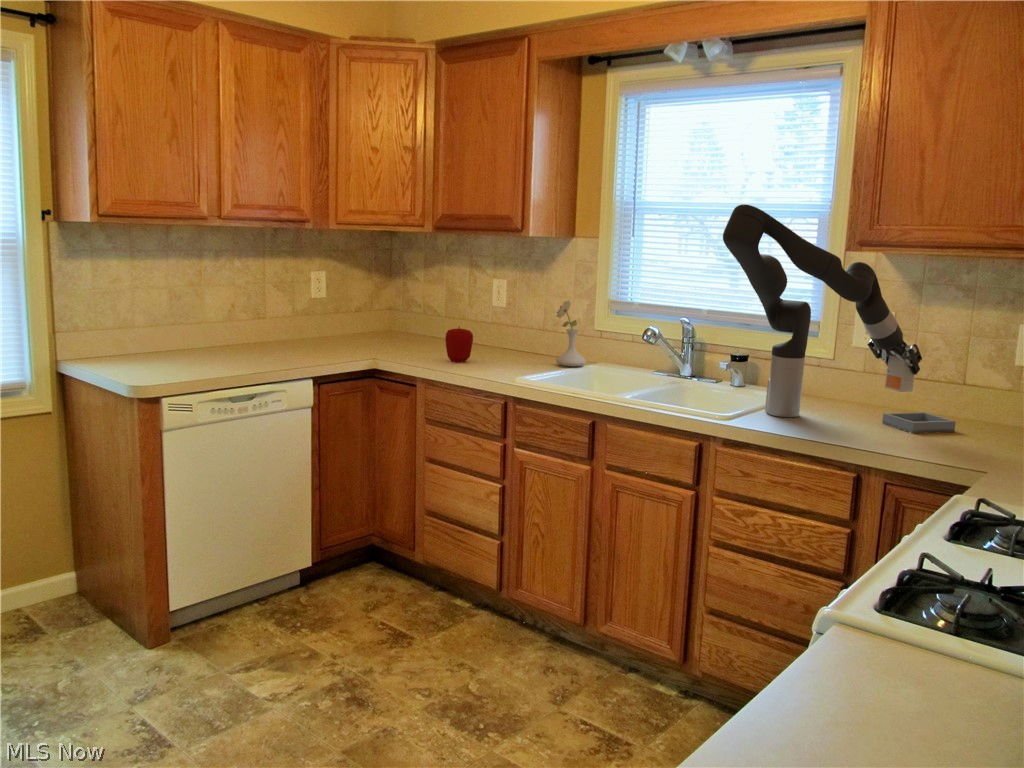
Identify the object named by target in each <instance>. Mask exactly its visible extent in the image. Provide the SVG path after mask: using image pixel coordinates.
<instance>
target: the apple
mask: <svg viewBox="0 0 1024 768" xmlns="http://www.w3.org/2000/svg"><path fill="white" fill-rule="evenodd" d="M473 341H474V334H473V333H472V331H471V330H469V329H466V328H461V327H460V326H458V328H451V329H448V330H447V331H446V333H445V350H446V354H447V357H448V359H449V360H450V361H451V362H452V363H455V364H457V363H459V364H460V363H464V362H466V361H467V360H468V359H469V358H470V357H471V352H472V348H473V343H474V342H473Z"/></svg>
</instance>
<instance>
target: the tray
mask: <svg viewBox="0 0 1024 768" xmlns="http://www.w3.org/2000/svg"><path fill="white" fill-rule="evenodd" d="M882 423H884V424H886V425H885V426H887V425H889V426H888V427H891V426H893V427H892V428H894V427H896V428H895V429H897V428H899V429H898V430H900V429H902V430H901V431H903V430H905V431H904V432H906V431H908V432H907V433H909V432H911V433H910V434H912V433H915V434H928V433H927V432H941V433H955V429H956V420H953V419H949V418H946V417H942V416H939V415H937V414H935V415H934V414H931V413H928V412H924V411H921V412H920V411H917V412H916V411H915V412H888V413H887V412H885V413H882ZM882 423H881V424H882ZM884 424H883V425H884ZM925 432H926V433H925Z"/></svg>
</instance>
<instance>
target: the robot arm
mask: <svg viewBox="0 0 1024 768" xmlns="http://www.w3.org/2000/svg"><path fill="white" fill-rule="evenodd" d="M764 234H765V235H767V236H769V237H771V238H772V239H773V240H774V241H775V242H776V243H777V244H778V245H779V246H780V247H781V249H782V250H783V251H784V253H785V254H786V255H787V258H788V259H789V261H790V262H792V264H794V267H796V269H797V268H798V270H800V271H802V272H803V273H805V274H807V275H810V276H811V277H813V278H815V279H817V280H819V281H822V282H823V283H824V284H825V285H826V286H828V287H829V289H831V290H832V291H833V292H835V293H836V294H837V295H838V296H840V297H841V298H842V299H844V300H846V301H849V302H852V303H855V308H856V309H855V310H856V313H858V316H859V317H860V320H861V321H862V323H863V326H864V329H865V331H866V333H867V334H868V337H869V339H870V340H869V341H868V342H867V346H868V348H869V350H870V351H871V353H872V354H873V355H874V357H875V359H877V360H879V359H881V360H882V361H883V362H884V363H885V364H886V367H887V366H888V359H889V355H890V356H896V357H898V358H899V359H900V360H901V361H905V362H906V363H907V364H908V365H909V368H910V370H911V372H912V373H913V374H914V376H917V374H918V373H919V372H920V370H921V367H920V365H919V363H921V361H922V360H923V356H922V354H921V352H920V351H921V350H920V349H919V347H918V345H917V344H915V343H913V344H912V345H908V344H907V342H905V341H904V334H903V331H902V329H901V327H900V325H899V323H898V321H897V320H896V318H895V315H894V314H893V312H892V311H891V310H890V308H889V306H888V304H887V302H886V301H885V299H884V297H883V295H882V291H881V286H880V283H879V280H878V277H877V275H876V272H875V270H874V268H872V267H871V265H869V264H867V263H865V262H863V261H856V262H853V263H851V264H850V265H848V267H847V268H845V269H846V270H845V269H844V267H843V264H842V260H841V258H840V257H839V256H838V255H835V254H834V253H831V252H830V251H827V250H826V249H823V248H821V247H820V246H817V245H815V244H813V243H811V242H810V241H808V240H806V239H805V238H803V237H801V236H800V235H799V234H797V233H796V232H794V231H793V230H792V229H790V228H789V227H787V226H786V225H785V224H783V223H782V222H780V221H779V220H777V219H776V218H775V217H773V216H772V215H770V214H769V213H767V212H766V211H764V210H762V209H760V208H758V207H756V206H753V205H750V204H745V203H744V204H739V205H736V207H734V209H733V210H732V212H731V214H730V217H729V219H728V220H727V223H726V225H725V227H724V230H723V233H722V241H723V243H724V245H725V247H726V248H727V249H728V251H729V252H730V253H731V255H732V256H733V257H734V259H735V260H736V261H737V262H738V264H739V265H740V267H741V269H742V270H743V272H744V273H745V275H746V276H747V280H748V281H749V283H750V285H751V287H752V289H753V290H754V292H755V294H757V297H758V298H759V302H760V303H761V305H762V307H763V310H764V312H765V315H766V319H767V321H768V323H769V325H770V327H771V328H772V330H774V331H777V332H780V333H787V334H788V333H789V334H792V335H791V338H790V339H789V340H787V341H785V342H780V343H776V344H773V346H772V348H771V356H770V367H769V368H770V370H769V379H768V380H767V386H766V394H765V395H766V396H765V397H766V398H765V407H764V411H765V412H766V414H767V415H770V416H774V417H781V418H797V417H799V416H800V411H801V410H800V409H801V402H802V401H801V400H802V391H803V383H804V381H803V379H804V370H805V360H806V358H805V357H806V351H807V345H808V338H809V333H810V332H809V331H810V325H811V319H812V308H811V305H810V304H809V303H808V302H807V301H800V300H791V299H790V300H788V299H783V298H781V297H782V295H783V294H784V292H785V290H786V289H787V286H788V276H787V274H786V271H785V270H784V268H783V264H781V262H780V261H779V259H777V257H775V256H773V255H771V254H761V253H760V250H759V247H760V245H759V244H760V243H761V239H762V238H763V235H764ZM905 350H907V353H906V354H905V355H904V356H902V355H903V353H904V352H905ZM908 357H910V358H911V360H910V361H909V360H908Z"/></svg>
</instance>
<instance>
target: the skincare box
mask: <svg viewBox="0 0 1024 768" xmlns="http://www.w3.org/2000/svg"><path fill="white" fill-rule="evenodd" d="M906 353H907V350H905V352H904V353H903V355H902V356H904V355H905V354H906ZM908 360H909V361H910V360H911V358H910V357H908ZM914 382H915V375H914V374H913V373H912V372H911V370H910V368H909V365H908V364H907V363H906V362H905V361H901V360H900V359H899V358H898V357H896V356H890V355H889V359H888V366H887V365H886V374H885V383H884V388H885V389H890V390H893V391H896V392H900V393H903V392H904V393H906V392H907V393H910V392H913V389H914Z"/></svg>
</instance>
